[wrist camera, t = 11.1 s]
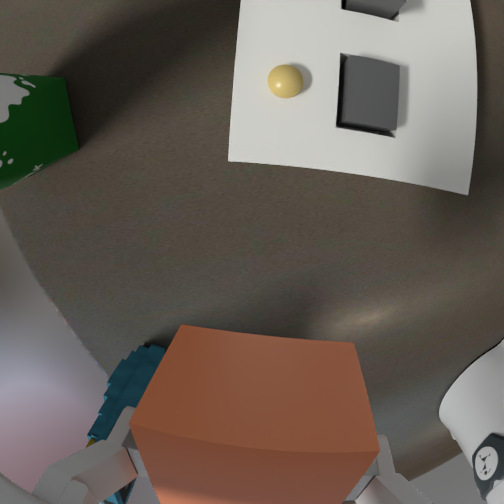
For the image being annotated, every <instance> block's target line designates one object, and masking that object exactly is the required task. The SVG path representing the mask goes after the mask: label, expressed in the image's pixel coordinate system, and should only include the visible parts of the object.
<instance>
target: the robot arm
mask: <svg viewBox="0 0 504 504" xmlns="http://www.w3.org/2000/svg"><path fill="white" fill-rule="evenodd" d="M135 409H136V408H134V407H130V406H127V407H126V408H124V409H123V411H122V413H121V415H120V417H119V418H118V420H117V422H116V424H115V426H114V427H113V429H112V431H111V433H110V435H109V436H108V438H107V440H100V441H98V442H96V443H94V444H92V445H90V446H88V447H86V448H84V449H82V450H80V451H78V452H76V453H74V454H72V455H70V456H68V457H66V458H64V459H62V460H59V461H57V462H55V463H53V464H51V465H49V466H48V467H47V469H46V471H45V472H44V474H43V475H42V477H41V479H40V480H39V482H38V484H37V485H36V487H35V489H34V490H33V492H32V494H31V493H30V492H28V491H27V490H25V489H23V488H22V487H20V486H19V485H17V484H16V483H14V482H13V481H11V480H10V479H8V478H7V477H6V476H4V475H3V474H2V473H0V504H101V503H100V502H102V501H103V500H105V499H106V498H108V497H109V496H111V495H112V494H114V493H115V492H117V491H118V490H119V489H121V488H122V487H124V486H125V485H126V484H128V483H129V482H131V481H132V480H133V479H135V478H136V477H137V476H138V475H140V476H144V477H148V478H149V476H148V474H147V471H146V469H145V466H144V464H143V461H142V459H141V456H140V453H139V451H138V448H137V445H136V443H135V440H134V437H133V434H132V431H131V428H130V425H129V421H130V419H131V417H132V415H133V413H134V411H135ZM439 417H440V420H441V421H442V423H443V424H444V425H445V426H446V427H447V428H448V429H449V430H450V433H451V435H452V437H453V439H454V440H457V442H458V444H459V445H460V447H461V449H462V450H463V452H464V454H465V455H466V457H467V459H468V461H469V463H470V464H471V466H472V468H473V470H474V479H475V482H476V484H477V487H478V492H479V493H480V495H481V497H482V499H483V500H485V501H487V503H488V504H504V339H503V340H502V342H501V343H500V344H498V345H497V346H496V347H495V348H493V349H492V350H490V351H489V352H487V353H486V354H484V355H483V356H481V357H480V358H479V359H477V360H476V361H475V362H474V363H473V364H471V365H470V366H469V367H468V368H467V369H466V370H465V371H464V372H463V373H462V374H461V375H460V376H459V377H458V378H457V380H456V381H455V382H454V383H453V385H452V386H451V387H450V389H449V390H448V392H447V393H446V395H445V397H444V398H443V401H442V403H441V406H440V410H439ZM377 438H378V443H379V447H380V452H379V453H378V455H377V456H376V458H375V459H374V461H373V462H372V464H371V465H370V467H369V468H368V470H367V471H366V472H365V474H364V475H363V477H362V478H361V479H360V481H359V482H358V483H357V485H356V486H355V487H354V489H353V490H352V491H351V493H350V494H349V495H348V496H347V498H346V499H345V500H355V502H356V503H357V504H433V503H432V502H431V501H430V500H428V499H427V498H426V497H425V496H424V495H423V494H422V493H420V491H418V490H417V489H416V488H415V487H414V486H413V485H412V484H411V483H410V482H409V481H407V480H406V479H405V478H404V477H403V476H402V475H401V474H400V473H396V474H395V469H394V465H393V460H392V456H391V452H390V448H389V444H388V440H387V437H386V435H384V434H381V435H377Z"/></svg>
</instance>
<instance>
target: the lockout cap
mask: <svg viewBox="0 0 504 504" xmlns="http://www.w3.org/2000/svg"><path fill="white" fill-rule="evenodd" d="M129 425H130V428H131V431H132V434H133V437H134V440H135V443H136V445H137V448H138V451H139V453H140V456H141V459H142V461H143V464H144V466H145V469H146V471H147V474H148V476H149V478H150V480H151V483H152V485H153V488H154V490H155V492H156V494H157V497H158V498H159V501H160V503H161V504H342V503H343V501H344V500H345V499H346V498H347V496H348V495H349V494H350V493H351V491H352V490H353V489H354V487H355V486H356V485H357V483H358V482H359V481H360V479H361V478H362V477H363V475H364V474H365V472H366V471H367V470H368V468H369V467H370V465H371V464H372V462H373V461H374V459H375V458H376V456H377V455H378V453H379V452H380V447H379V443H378V438H377V433H376V429H375V424H374V420H373V416H372V411H371V407H370V403H369V399H368V395H367V391H366V387H365V383H364V379H363V375H362V371H361V368H360V364H359V360H358V356H357V353H356V349H355V346H354V343H352V342H335V341H320V340H307V339H296V338H285V337H275V336H265V335H256V334H248V333H239V332H231V331H224V330H217V329H209V328H203V327H196V326H189V325H183V324H181V326H180V327H179V329H178V331H177V333H176V335H175V337H174V338H173V340H172V342H171V344H170V346H169V348H168V349H167V351H166V353H165V355H164V357H163V359H162V360H161V362H160V364H159V366H158V368H157V370H156V372H155V374H154V375H153V377H152V379H151V381H150V383H149V385H148V387H147V389H146V390H145V392H144V394H143V396H142V398H141V400H140V402H139V404H138V406H137V408H136V409H135V411H134V413H133V415H132V417H131V419H130V421H129Z"/></svg>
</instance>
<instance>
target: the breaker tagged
mask: <svg viewBox="0 0 504 504" xmlns="http://www.w3.org/2000/svg"><path fill="white" fill-rule="evenodd" d="M399 78H400V66H399V65H395V64H391V63H387V62H382V61H378V60H373V59H369V58H364V57H359V56H354V55H350V56H349V57H348V58H347V59H346V61H345V62H344V63H343V64H342V66H341V67H340V68H339V86H338V102H337V116H336V125H338V126H345V127H351V128H357V129H363V130H369V131H374V132H376V131H391V130H397V117H398V101H399Z"/></svg>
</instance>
